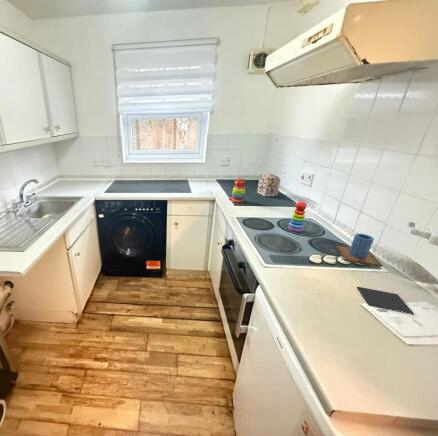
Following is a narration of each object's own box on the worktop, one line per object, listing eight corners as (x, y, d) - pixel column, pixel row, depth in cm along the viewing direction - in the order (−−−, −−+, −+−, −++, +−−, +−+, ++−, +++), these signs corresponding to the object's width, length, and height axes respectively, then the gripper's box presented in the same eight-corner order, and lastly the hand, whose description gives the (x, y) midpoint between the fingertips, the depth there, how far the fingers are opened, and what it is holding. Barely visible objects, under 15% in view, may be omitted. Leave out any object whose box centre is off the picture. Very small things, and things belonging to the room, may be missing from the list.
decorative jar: (277, 196, 196) (282, 174, 189) (264, 196, 194) (268, 175, 187) (268, 192, 207) (273, 171, 200) (256, 192, 205) (260, 172, 198)
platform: (366, 255, 112) (371, 242, 109) (379, 270, 100) (386, 256, 98) (333, 250, 116) (338, 237, 113) (343, 264, 105) (348, 251, 102)
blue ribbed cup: (362, 252, 109) (369, 234, 105) (368, 259, 103) (376, 241, 100) (346, 249, 111) (353, 232, 107) (352, 256, 105) (359, 238, 102)
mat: (396, 295, 87) (397, 294, 87) (413, 314, 78) (414, 313, 78) (356, 287, 91) (357, 286, 90) (368, 305, 82) (368, 304, 82)
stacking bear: (227, 198, 190) (231, 176, 183) (239, 198, 191) (243, 176, 184) (234, 203, 180) (237, 180, 173) (246, 202, 181) (250, 179, 174)
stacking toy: (286, 228, 139) (294, 198, 132) (302, 231, 135) (311, 200, 128) (285, 233, 133) (293, 202, 125) (302, 237, 129) (311, 204, 122)
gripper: (467, 256, 79) (408, 243, 88) (453, 236, 93) (404, 227, 102) (477, 240, 77) (415, 228, 85) (461, 222, 91) (410, 213, 99)
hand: (409, 227), depth 94 cm, fingers open, 8 cm apart
